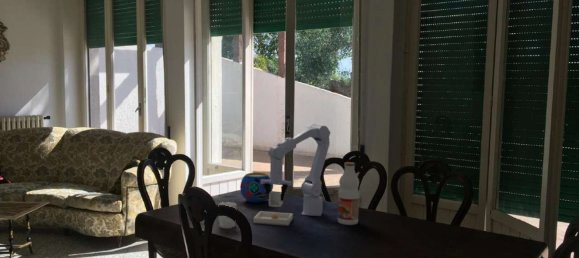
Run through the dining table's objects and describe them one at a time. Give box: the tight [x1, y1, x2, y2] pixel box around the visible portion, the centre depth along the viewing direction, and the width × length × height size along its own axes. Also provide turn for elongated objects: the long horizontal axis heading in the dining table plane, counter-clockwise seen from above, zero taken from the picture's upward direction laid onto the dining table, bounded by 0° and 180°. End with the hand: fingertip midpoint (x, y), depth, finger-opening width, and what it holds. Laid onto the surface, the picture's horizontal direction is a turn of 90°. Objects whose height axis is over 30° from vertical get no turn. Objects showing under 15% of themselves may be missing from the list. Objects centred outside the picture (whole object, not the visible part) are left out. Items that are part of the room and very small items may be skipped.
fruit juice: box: [337, 161, 360, 226], centre depth 215 cm, size 9×9×28 cm
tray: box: [253, 210, 294, 227], centre depth 216 cm, size 16×12×2 cm
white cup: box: [218, 201, 237, 229], centre depth 205 cm, size 8×8×10 cm
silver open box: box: [268, 190, 284, 208], centre depth 220 cm, size 6×6×6 cm
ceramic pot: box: [239, 172, 274, 203], centre depth 252 cm, size 18×18×15 cm
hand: (275, 199), depth 220 cm, fingers closed on silver open box, 6 cm apart
